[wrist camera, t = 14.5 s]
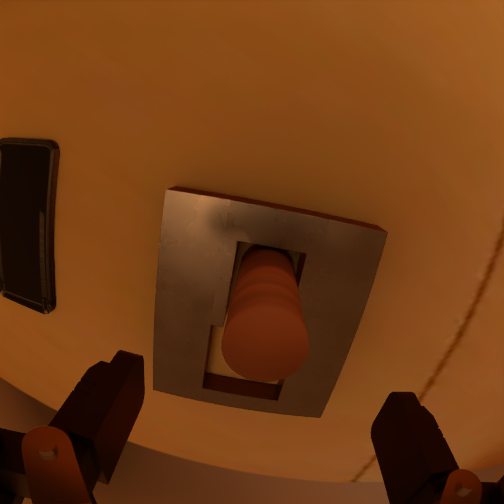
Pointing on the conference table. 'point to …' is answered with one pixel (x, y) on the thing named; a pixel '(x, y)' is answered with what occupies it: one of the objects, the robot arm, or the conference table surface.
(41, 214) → the phone
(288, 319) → the peg
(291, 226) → the keyhole plate
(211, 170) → the conference table surface
